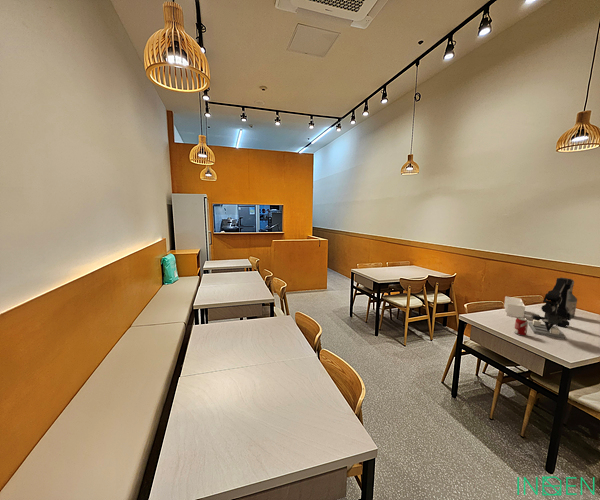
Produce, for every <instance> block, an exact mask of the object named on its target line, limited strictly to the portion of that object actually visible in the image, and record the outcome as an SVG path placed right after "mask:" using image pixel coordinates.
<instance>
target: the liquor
mask: <svg viewBox="0 0 600 500" xmlns="http://www.w3.org/2000/svg"><path fill="white" fill-rule="evenodd" d="M574 286H575V285H573V286H572V287H571V288H570V289H569V293H568V301H567V307H568V309H569V313H570V315H571V319H572V318H575V315H576V310H577V303H578V298H577V297H576V296H575V295H574V294H573V291H574V290H573V289H574ZM558 306H559V305H558Z"/></svg>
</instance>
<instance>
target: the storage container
mask: <svg viewBox="0 0 600 500" xmlns="http://www.w3.org/2000/svg"><path fill="white" fill-rule="evenodd" d="M503 304H504V305H503V308H505V309H504V311H505V313H506V316H508V317H511V318H512V317H513V318H517V317H522V318H525V311H526V305H525V304H524V302H523V300H522V298H519V297H512V296H507V295H506V296H505V297H504V303H503Z"/></svg>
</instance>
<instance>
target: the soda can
mask: <svg viewBox="0 0 600 500" xmlns="http://www.w3.org/2000/svg"><path fill="white" fill-rule="evenodd" d="M528 323H529V321H528V319H527V318H525V317H524V318H522V317H516V319H515V323H514V329H513V333H515V334H516V335H518V336H527V332H528V327H529V324H528Z"/></svg>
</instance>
